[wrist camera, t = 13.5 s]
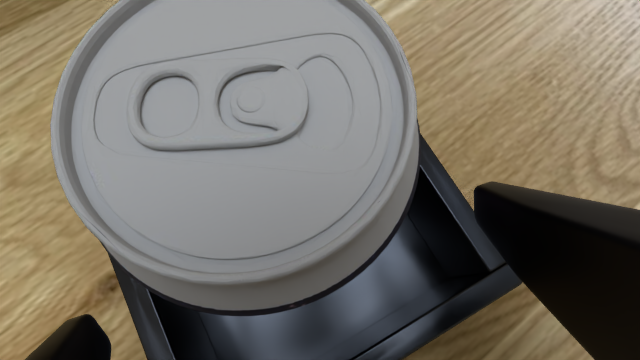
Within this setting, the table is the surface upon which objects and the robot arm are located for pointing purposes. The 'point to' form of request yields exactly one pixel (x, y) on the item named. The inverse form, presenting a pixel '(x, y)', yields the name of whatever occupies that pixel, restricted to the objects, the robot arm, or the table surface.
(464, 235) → the black open tray
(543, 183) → the table surface
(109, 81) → the beverage can
